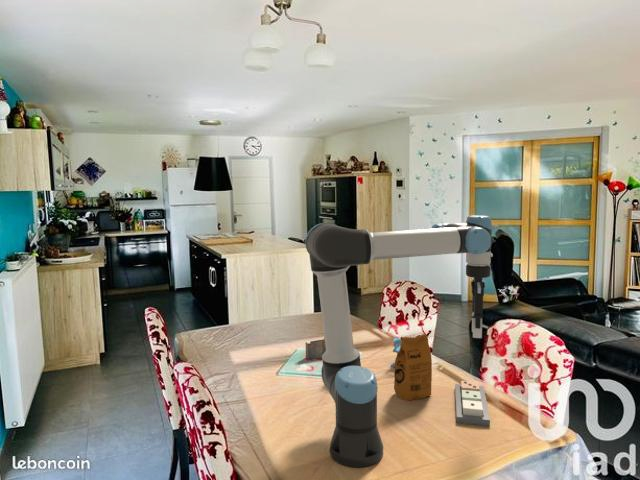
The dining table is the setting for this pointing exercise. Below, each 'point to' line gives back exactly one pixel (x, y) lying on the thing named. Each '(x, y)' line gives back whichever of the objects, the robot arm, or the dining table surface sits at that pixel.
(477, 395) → the tile two
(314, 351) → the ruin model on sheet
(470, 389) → the tile three
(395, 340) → the chair
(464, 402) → the tile one
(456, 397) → the tile tray
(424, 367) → the coffee package
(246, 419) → the dining table surface
